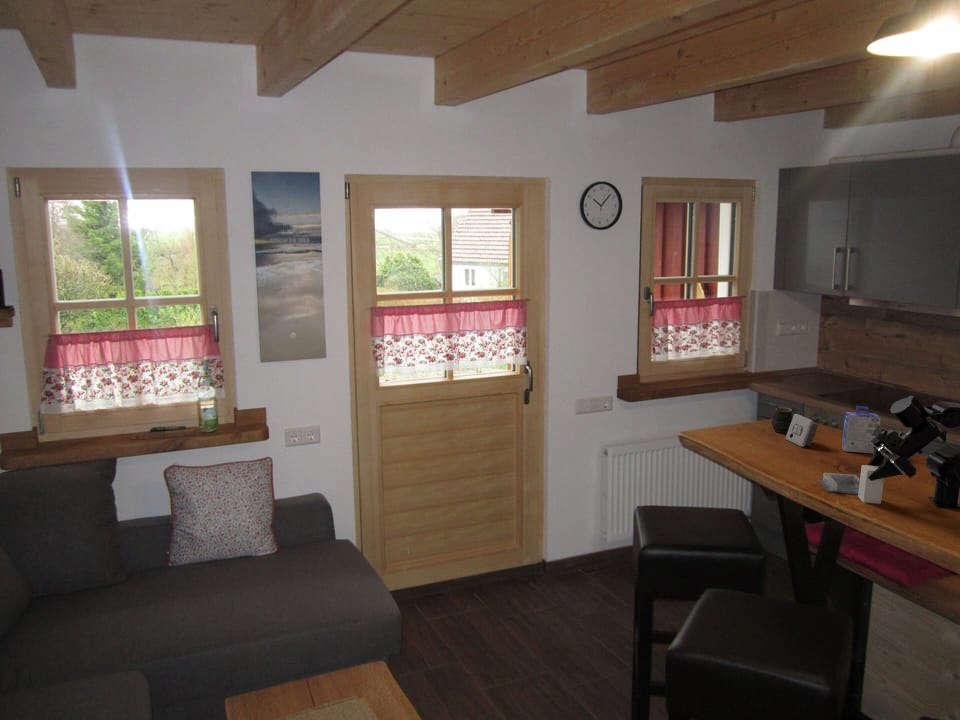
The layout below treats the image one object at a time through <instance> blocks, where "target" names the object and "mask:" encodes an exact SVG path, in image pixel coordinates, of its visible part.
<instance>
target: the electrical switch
mask: <svg viewBox="0 0 960 720" xmlns="http://www.w3.org/2000/svg"><path fill="white" fill-rule="evenodd" d="M792 418H793V419H792V422H791V424H790V427H789V430H788V433H786V436H785V440H787V441H788V442H790V443H793V444H795V445H797V446H799V447H801V448H805V446H806V447H811V446H812V443H813V441H814V438H815V435H816V432H817V430H818V427H819V424H817V423H816V422H814V420H812V419H810V418H808V417H806V416H803V415H800V414H797V413H794V414H793V416H792Z"/></svg>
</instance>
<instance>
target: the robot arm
mask: <svg viewBox="0 0 960 720" xmlns="http://www.w3.org/2000/svg"><path fill="white" fill-rule="evenodd" d="M889 409H890V412H891V414H893V416H894V417H895V418H896V419H897V420H898V421H899V422H900V424H902V426H903V427H904V428H906V429H908V430H906V431H905V432H903V431H902V430H901V431H898V432H897V431H895V430H893V429H887V428H886V427H883V426H882V425H881V424H880V425H878V426H877V427H876V429H875V430H874V432H873V433H872V435H873V436H875V438H874V439H872V440H871V442H872V443H873V444H874V445H875V446H876V447H875V446H873V448H874V453H873V455H872V457H871V458H870V460H869V462H868V463H867V464H866V465H870V466H879V467H878V468H877V469H876V470H875V471H874V472H873V473H872V474H871V475H870V476H869V477H868V478H869V479H870V480H871V481H873V480H877V479H882V478H885V479H886V478H891V477H897V476H903V475H904V474H905V476H907V477H908V478H909V479H911V478H913V477H914V476H915V475H916V474H917V468H916V467H915V466H914V465H913V464H912V462H911V461H910V459H911V458H912V457H914V456H915V455H916V454H919V455H922V454H923V453H924V451H923V449H925V447H927V446H929V444H931V443H933V442H934V441H935V440H936V439H937V438H938V439H939V440H941V441H942V442H944V443H945V442H947V434H948V431H947V430H945V428H946V429H956V428H958V427H960V403H959V402H951V401H937V402H935V403H933V405H924V406H923V405H922V404H921V403H920V401H919V400H918V398H917V397H916V396H914V395H909V396H908V397H904V398H901V399H900V400H896V401H895V402H894V403H893V404H892V405H891V406H890V408H889ZM927 419H930V420H931V421H929V420H927ZM937 424H938V425H940V426H942V427H944V428H940V427H939V426H938V425H937ZM925 465H926V468H927V470H929V472H930V473H929V474H930V477H932V478H935V484H934V493H933V496H927V499H928V500H929V501H931V502H932V504H934V505H935V506H936V507H938V508H955V509H960V502H959V498H960V448H955V447H953V446H951V445H949V444H947V445H944V446H942V447H941V448H938V449H933V452H931V453H929V454H928V455H927V459H926V462H925Z"/></svg>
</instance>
